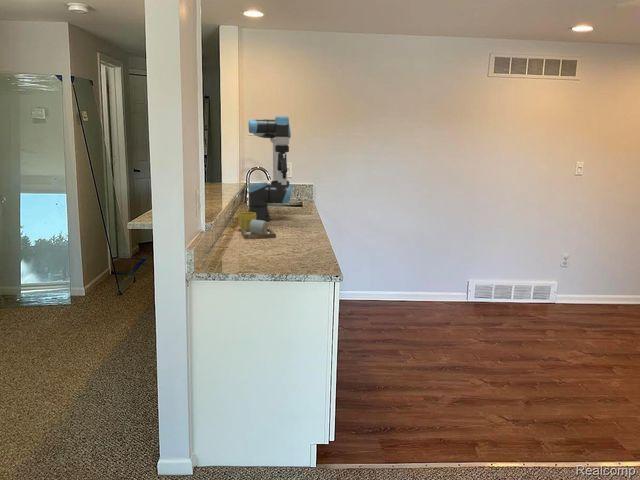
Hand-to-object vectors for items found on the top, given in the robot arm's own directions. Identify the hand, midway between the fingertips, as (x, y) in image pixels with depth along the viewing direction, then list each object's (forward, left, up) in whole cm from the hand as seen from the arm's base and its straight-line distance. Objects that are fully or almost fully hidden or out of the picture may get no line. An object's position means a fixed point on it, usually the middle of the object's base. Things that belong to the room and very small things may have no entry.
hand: (282, 183), depth 289 cm
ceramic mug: (+16, -15, -25) cm, 33 cm away
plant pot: (0, -20, -26) cm, 33 cm away
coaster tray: (+17, -16, -26) cm, 35 cm away
